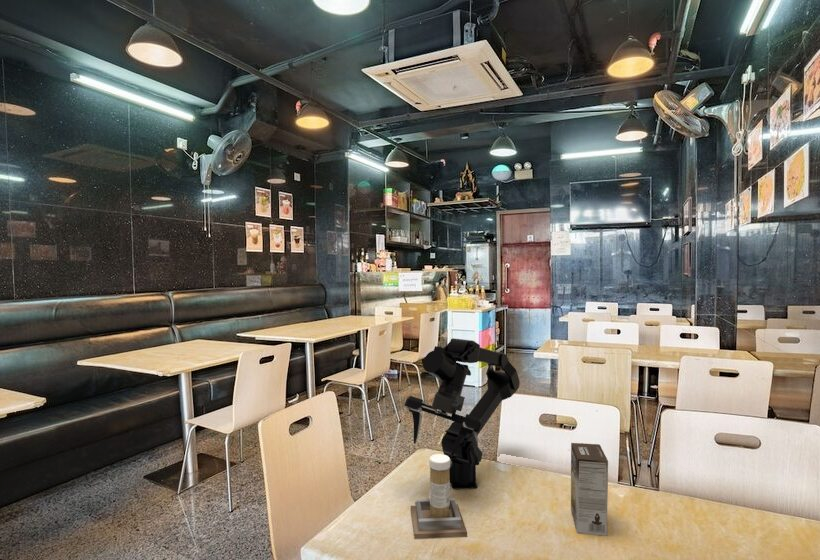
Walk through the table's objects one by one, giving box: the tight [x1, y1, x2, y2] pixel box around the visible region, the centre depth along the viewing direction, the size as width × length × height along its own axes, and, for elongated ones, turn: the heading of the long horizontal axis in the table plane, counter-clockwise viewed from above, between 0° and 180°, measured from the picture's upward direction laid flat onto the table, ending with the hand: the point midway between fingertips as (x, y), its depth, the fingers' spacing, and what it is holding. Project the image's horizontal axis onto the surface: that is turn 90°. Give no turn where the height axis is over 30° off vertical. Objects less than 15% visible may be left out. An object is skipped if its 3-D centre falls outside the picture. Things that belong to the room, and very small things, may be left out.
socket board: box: [410, 497, 468, 540], centre depth 97 cm, size 11×11×3 cm
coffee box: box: [570, 442, 609, 537], centre depth 97 cm, size 9×6×16 cm
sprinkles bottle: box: [428, 453, 451, 518], centre depth 97 cm, size 5×5×14 cm
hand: (432, 449), depth 105 cm, fingers open, 9 cm apart
